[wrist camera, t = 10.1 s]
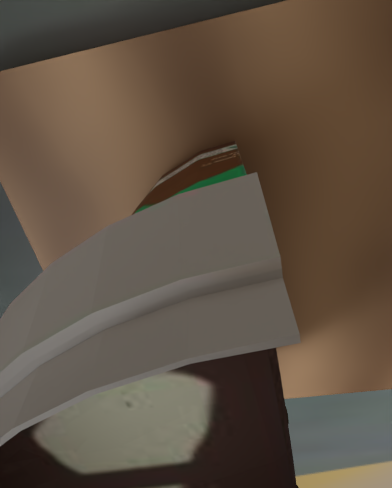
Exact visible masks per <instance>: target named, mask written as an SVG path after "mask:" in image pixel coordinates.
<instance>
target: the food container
mask: <svg viewBox="0 0 392 488" xmlns="http://www.w3.org/2000/svg"><path fill="white" fill-rule="evenodd" d="M298 343H301V341H300V333H299V330H298V327H297V323H296V320H295V317H294V313H293V310H292V307H291V303H290V300H289V297H288V293H287V290H286V287H285V283H284V280H283V275H282V265H281V257H280V253H279V250H278V246H277V242H276V239H275V235H274V232H273V228H272V224H271V221H270V217H269V214H268V210H267V207H266V203H265V199H264V196H263V192H262V189H261V185H260V181H259V178H258V174H257V172H255V173H252V174H248V175H247V174H246V171H245V168H244V165H243V162H242V159H241V156H240V153H239V150H238V147H237V145H236V142H235V141H233V142H229V143H226V144H223V145H219V146H216V147H212V148H209V149H206V150H202V151H200V152H198V153H197V154H195V155H194V156H192V157H191V158H189V159H187V160H186V161H184V162H183V163H181V164H180V165H178V166H177V167H175V168H173V169H172V170H170V171H169V172H167V173H166V174H164V175H163V176H162V177H161V178H160V179H159V181H158V182H157V183H156V184H155V186H154V187H153V188H152V189H151V191H150V192H149V193H148V194H147V195H146V197H145V198H144V199H143V200H142V202H141V203H140V204H139V205H138V207H137V208H136V209H135V211H134V212H133V214H132V215H131V216H129V217H126V218H124V219H122V220H120V221H117V222H115V223H113V224H111V225H108V226H107V227H105V228H104V229H102V230H101V231H99V232H98V233H96V234H95V235H93V236H92V237H90V238H89V239H87V240H86V241H84V242H83V243H81V244H80V245H78V246H77V247H75V248H74V249H72V250H71V251H69V252H68V253H66V254H65V255H63V256H62V257H60V258H59V259H57V260H56V261H54V262H53V263H51V264H50V265H49V266H48V267H47V268H46V269H45V270H44V271H43V272H42V273H41V274H40V275H39V276H38V277H37V278H36V279H35V280H34V281H33V282H32V283H31V284H30V285H29V286H28V287H27V288H26V289H25V290H24V291H23V292H22V293H21V294H20V295H19V296H18V297H17V298H16V299H15V300H14V301H12V302H11V304H10V305H9V307H8V308H7V310H6V311H5V313H4V314H3V316H2V317H1V319H0V488H298V486H297V485H296V478H295V470H294V463H293V456H292V449H291V442H290V435H289V428H288V413H287V409H286V406H285V401H284V395H283V388H282V381H281V374H280V368H279V363H278V357H277V351H276V347H282V346H287V345H292V344H298Z"/></svg>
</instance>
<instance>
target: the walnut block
mask: <svg viewBox="0 0 392 488" xmlns="http://www.w3.org/2000/svg"><path fill="white" fill-rule="evenodd" d="M233 141H235V142H236V145H237V147H238V150H239V153H240V156H241V159H242V162H243V165H244V168H245V171H246V174H247V175H248V174H252V173H255V172H257V174H258V178H259V181H260V185H261V189H262V192H263V196H264V199H265V203H266V207H267V210H268V214H269V217H270V221H271V224H272V228H273V232H274V235H275V239H276V242H277V246H278V250H279V253H280V257H281V265H282V275H283V280H284V283H285V287H286V290H287V293H288V297H289V300H290V303H291V307H292V310H293V313H294V317H295V320H296V323H297V327H298V330H299V333H300V341H301V343H298V344H292V345H287V346H282V347H276V351H277V357H278V363H279V368H280V374H281V381H282V388H283V395H284V399H288V398H299V397H310V396H321V395H331V394H342V393H353V392H364V391H375V390H385V389H392V0H286V1H282V2H278V3H274V4H270V5H266V6H262V7H258V8H254V9H250V10H246V11H242V12H238V13H234V14H230V15H226V16H222V17H218V18H214V19H209V20H205V21H201V22H197V23H193V24H189V25H185V26H181V27H177V28H173V29H169V30H165V31H161V32H157V33H153V34H149V35H145V36H141V37H137V38H133V39H129V40H125V41H120V42H116V43H112V44H108V45H104V46H100V47H96V48H92V49H88V50H84V51H80V52H76V53H72V54H68V55H64V56H60V57H56V58H52V59H48V60H44V61H40V62H36V63H32V64H27V65H23V66H19V67H15V68H11V69H7V70H3V71H0V182H1V184H2V186H3V188H4V190H5V192H6V194H7V196H8V198H9V200H10V202H11V205H12V207H13V209H14V211H15V213H16V215H17V217H18V219H19V221H20V223H21V225H22V227H23V229H24V232H25V234H26V236H27V238H28V240H29V242H30V244H31V246H32V248H33V250H34V252H35V254H36V257H37V259H38V261H39V263H40V265H41V267H42V269H43V271H44V270H45V269H46V268H47V267H48V266H49V265H50V264H51V263H53V262H54V261H56V260H57V259H59V258H60V257H62V256H63V255H65V254H66V253H68V252H69V251H71V250H72V249H74V248H75V247H77V246H78V245H80V244H81V243H83V242H84V241H86V240H87V239H89V238H90V237H92V236H93V235H95V234H96V233H98V232H99V231H101V230H102V229H104V228H105V227H107V226H108V225H111V224H113V223H115V222H117V221H120V220H122V219H124V218H126V217H129V216H131V215H132V214H133V212H134V211H135V209H136V208H137V207H138V205H139V204H140V203H141V202H142V200H143V199H144V198H145V197H146V195H147V194H148V193H149V192H150V191H151V189H152V188H153V187H154V186H155V184H156V183H157V182H158V181H159V179H160V178H161V177H162V176H163V175H164V174H166V173H167V172H169V171H170V170H172V169H173V168H175V167H177V166H178V165H180V164H181V163H183V162H184V161H186V160H187V159H189V158H191V157H192V156H194V155H195V154H197V153H198V152H200V151H202V150H206V149H209V148H212V147H216V146H219V145H223V144H226V143H229V142H233Z"/></svg>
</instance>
